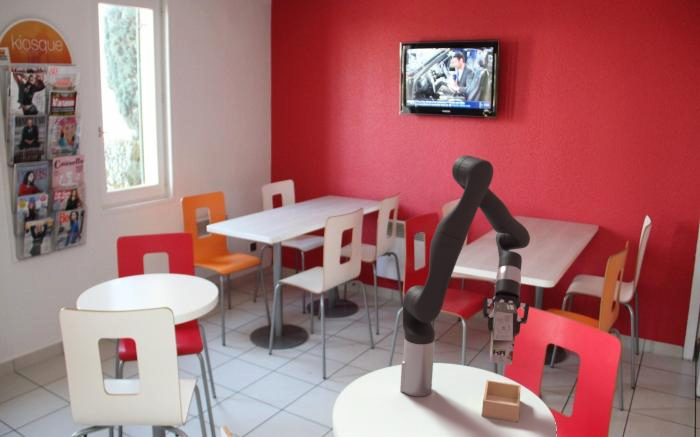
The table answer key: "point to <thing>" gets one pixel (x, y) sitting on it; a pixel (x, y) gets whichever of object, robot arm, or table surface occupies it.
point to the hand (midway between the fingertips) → (503, 332)
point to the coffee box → (503, 332)
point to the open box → (501, 401)
